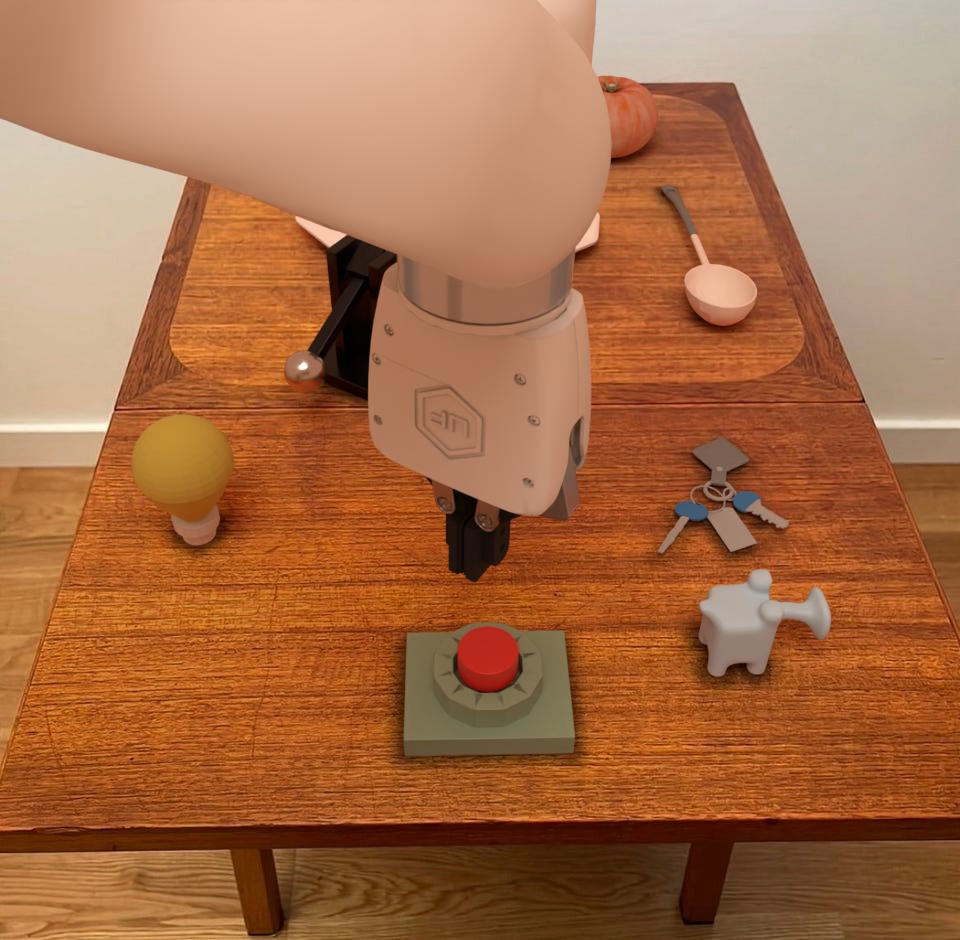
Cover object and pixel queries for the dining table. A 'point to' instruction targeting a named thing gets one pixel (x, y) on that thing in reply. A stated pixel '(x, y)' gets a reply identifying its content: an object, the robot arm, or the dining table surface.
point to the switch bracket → (353, 319)
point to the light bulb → (184, 472)
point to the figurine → (753, 622)
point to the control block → (487, 699)
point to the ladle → (713, 280)
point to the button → (488, 659)
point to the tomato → (628, 114)
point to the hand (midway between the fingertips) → (476, 560)
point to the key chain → (723, 499)
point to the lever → (331, 324)
